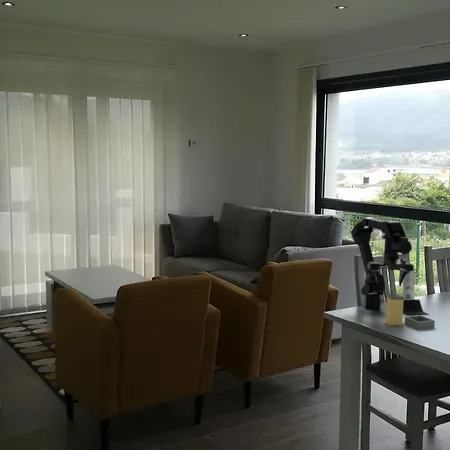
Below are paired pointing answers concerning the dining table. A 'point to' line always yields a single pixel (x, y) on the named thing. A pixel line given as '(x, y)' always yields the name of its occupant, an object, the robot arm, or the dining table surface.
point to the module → (394, 309)
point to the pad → (393, 325)
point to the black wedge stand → (412, 308)
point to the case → (419, 322)
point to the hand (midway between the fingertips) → (389, 285)
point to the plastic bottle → (409, 286)
